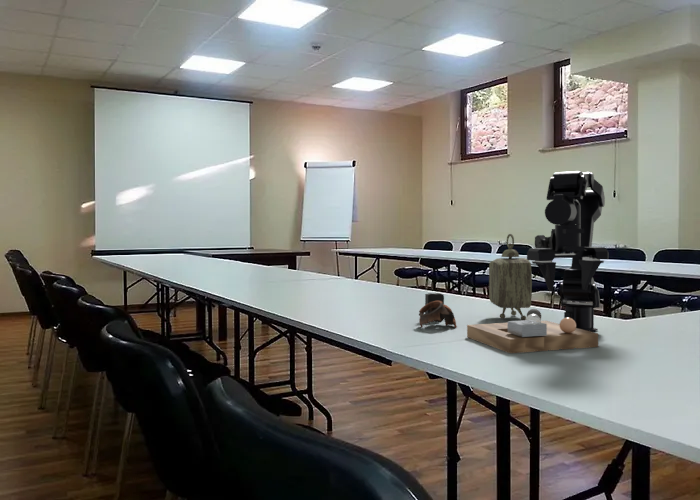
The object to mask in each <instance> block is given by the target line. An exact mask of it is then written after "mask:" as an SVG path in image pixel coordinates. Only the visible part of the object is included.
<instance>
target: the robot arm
mask: <svg viewBox="0 0 700 500" xmlns="http://www.w3.org/2000/svg"><path fill="white" fill-rule="evenodd" d="M594 176H595V175H594V173H593V172H590V171H585V172H583V171H581V170H574V171H560V172H559V171H558V172H557V171H556V172H554V173H553V174H552V176H551V177H550V178H549V183H548V187H547V188H548V189H547V193H546V201H549V202H548V203H547V205H546V207H545V209H544V216H545V218H546V220H547V221H548V222H550V223H551V224H552V225H554V228H553V229H551V230H550V236H545V235H544V234H541V235H540V234H538V235H536V236H534V247H533V248H529V249H528V250H527V252H526V259H527V260H529V261H531V263H532V264H533V265H534V264H535V265H536V266H537V267H538V268H539V270H540V272H541V274H542V275H543V279H544V282H545V285H546V287H547V290H548V291H549V292H553V290H554V287H555V277H556V266H557V262H554V261H553V260H554V259H561V258H562V259H567V258H569V259H570V258H572V259H571V266H570V267H569V268H566V269H565V270H564V271H563V278H562V282H560V284H559V285H560V286H559V297H560V306H561V307H565V311H564V313H563V314H564V315H563V319H564V318H572V319H573V320H574V321H575V323H576V328H578V329H582V330H586V331H590V332H596V331H599V330H598V328H596V327H594V326H595V325H594V324H595V323H594V321H595V320H594V319H595V318H594V317H595V316H594V310H595V309H597V308H598V309H599V308H600V305H601V303H600V301H601V300H600V291H599V289H598V288H597V284H596V283H595V280H594V277H593V276H594V275H595V273H596V272H597V270H598V269H599V267H600V265H601V264H604V262H605V260H608V259H609V251H608V249H607V247H606V246H605V247H603V246H602V247H601V246H593V235H594V224H595V223H596V221H598V219H599V218H600V216H602V210H603V208H605V203H606V202H605V201H606V197H605V192H604V187H603V185H602V184H601V183H600V182H599V181H597V180H596V179H595V177H594ZM588 188H589V189H590V190H588Z"/></svg>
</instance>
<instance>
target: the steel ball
mask: <svg viewBox="0 0 700 500" xmlns="http://www.w3.org/2000/svg"><path fill="white" fill-rule="evenodd" d="M526 320H533V321H537V322H541V321H542V318H541V319H540V317H539V316H538V315H536V314H530V315H528V316H527V315H526Z"/></svg>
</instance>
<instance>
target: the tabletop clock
mask: <svg viewBox="0 0 700 500" xmlns="http://www.w3.org/2000/svg"><path fill="white" fill-rule="evenodd" d="M510 237H511V241H512V242H511V243H509V238H510ZM514 245H515V237H514V235H513V234H512V233H508V234H507V236H506V246H507V248H508V249H505V250H504V251H503V252H502V253H501V258H496V259H493V260H492V261H490V262H489V266H488V289H489V290H488V293H489V294H488V296H489V300H490V301H489V302H491V303H492V304H493V305H495V306H497V307H498V308H501V309H502V313H500V314H499V319H502V320H503V319H505V318H506V314H505V312H506V310H507V309H511V311H510V315H511V316H512V317H513V316H516V315H517V312H518V314H520V321H521V320H526V317H527V315H524V314H523V311H522V310H521V309H529V308H531V306H532V294H533V293H532V291H533V290H532V289H533V288H532V287H533V281H532V280H533V277H532V276H533V275H532V264H531V263H532V262H531V260H527V258H525V257H520V255H519V252H518V251H517V250H516V249H513V247H514Z"/></svg>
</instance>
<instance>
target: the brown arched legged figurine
mask: <svg viewBox="0 0 700 500" xmlns="http://www.w3.org/2000/svg"><path fill="white" fill-rule="evenodd" d="M429 309H431V312H430V313H427V314H425V312H426V311H428V310H429ZM418 312H419V313H418V316H419V322H418V323H419V326H420V328H423V327H424V326H423V324H424V325H427V324H429V323H434V322H435V323H442V322H443V321H444V323H445V326H454V329H457V328H458V326H457V321H456V317H455V315H454V312H453V311H452V308H450V307H449V306H448V305H446V304H445V303H444V304H443V302H442V301H433V302H430V303H428V304H426V305H425V304H424V305H423V306H422V307H421V308H420V309H419V311H418Z"/></svg>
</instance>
